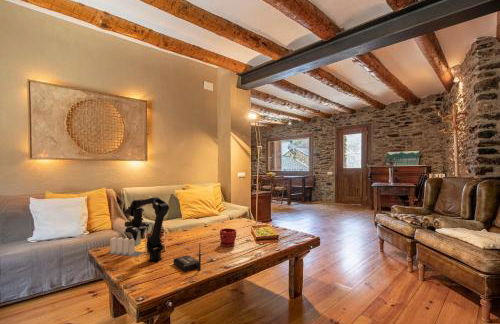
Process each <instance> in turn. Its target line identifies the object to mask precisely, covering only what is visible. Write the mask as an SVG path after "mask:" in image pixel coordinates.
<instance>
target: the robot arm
mask: <svg viewBox="0 0 500 324" xmlns="http://www.w3.org/2000/svg"><path fill="white" fill-rule="evenodd" d="M150 204H151V206H152V209H153V210H154V215H155V219H154V224H153V229H152V232H151V235H150V236H148V237H147V240H146V242H145V243H146V250H147V253H149V257H148V258H149V260H148V262H151V263H159V261H161V260H163V257H162V251H163V250H164V245H163V244H162V241H161V240H162V239H161V237H160V235H161V230H162V227H163V223H164V218H165V217H166V215H167V214H168V212H169V209H170V207H169V204H168V203H167V202H166V201H165V200H163V199H161V198H160V197H158V196H154V197H150V198H145V199H144V198H141V199H134V200H132V202H131V204H130V206H128V207H127V208H126V210H125V212H124V213H125V215H126V216H127V217H132V219H131V221H124V227H125V230H124V231H125V233H128V234H129V233H130V234H131V236H132V237H133V238H134V240H135V241H136V239H137V235H138V232H139V231H138V230H141V238H143V235H144V233H145V231H146V229H147V228H149V227H150V223H149V222H145V221H144V222H143V220H144V217H143V212H145V210H144V209H143V207H146V206H147V205H150ZM133 238H132V239H133Z"/></svg>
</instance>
